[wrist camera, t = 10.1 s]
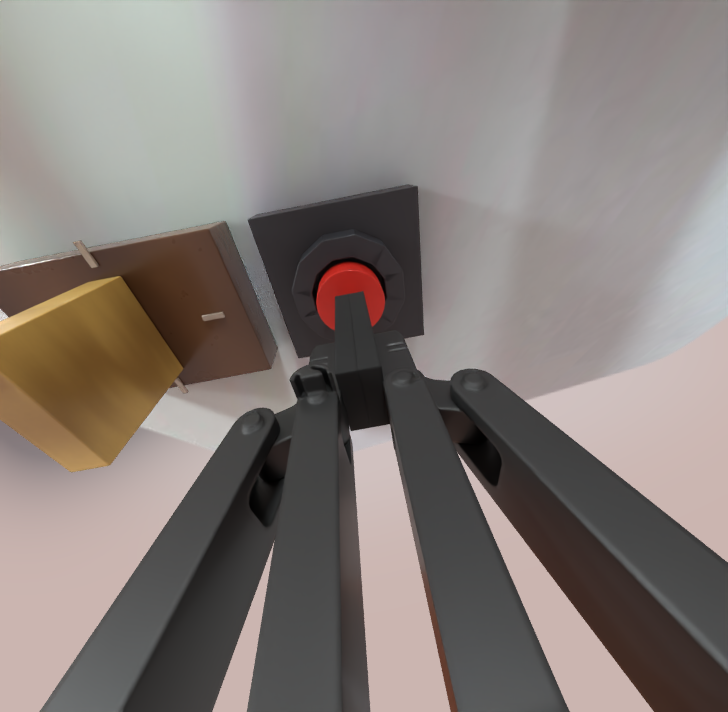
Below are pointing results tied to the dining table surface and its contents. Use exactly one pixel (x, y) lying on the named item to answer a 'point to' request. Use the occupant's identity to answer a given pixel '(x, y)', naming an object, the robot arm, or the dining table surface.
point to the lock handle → (83, 372)
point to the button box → (344, 258)
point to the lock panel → (166, 295)
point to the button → (349, 290)
